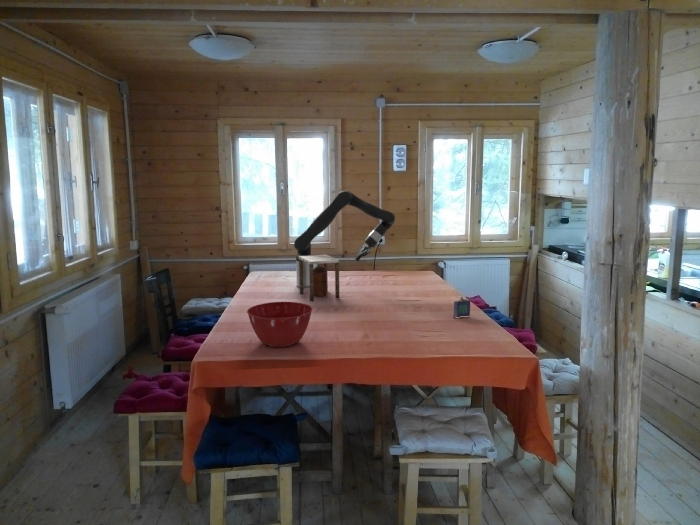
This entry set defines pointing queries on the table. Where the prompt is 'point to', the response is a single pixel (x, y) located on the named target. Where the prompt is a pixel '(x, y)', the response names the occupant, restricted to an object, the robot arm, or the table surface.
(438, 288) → the table surface
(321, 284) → the wooden figurine
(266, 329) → the mixing bowl
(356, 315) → the table surface
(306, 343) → the table surface
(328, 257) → the stand
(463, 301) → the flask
